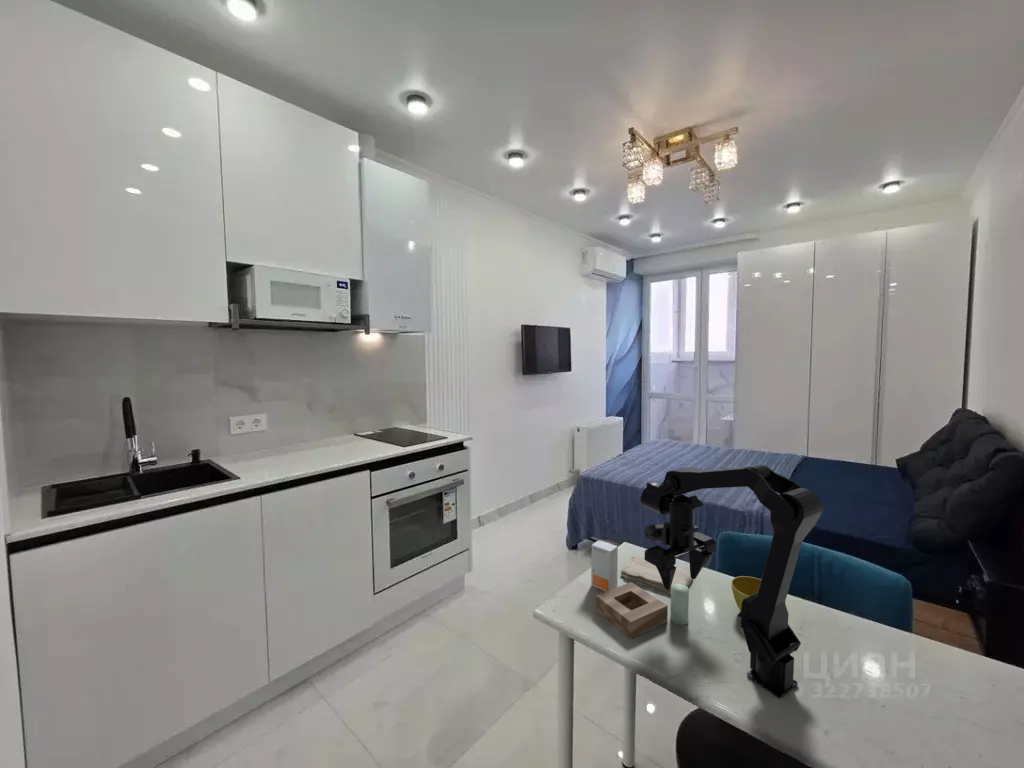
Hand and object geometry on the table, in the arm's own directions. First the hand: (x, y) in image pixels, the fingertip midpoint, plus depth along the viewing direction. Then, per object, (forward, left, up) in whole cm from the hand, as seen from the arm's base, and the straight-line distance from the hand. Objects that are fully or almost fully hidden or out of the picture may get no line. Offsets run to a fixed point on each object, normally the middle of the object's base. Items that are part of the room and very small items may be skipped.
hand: (680, 583), depth 102 cm
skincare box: (+20, +6, -9) cm, 23 cm away
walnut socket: (+7, +9, -9) cm, 15 cm away
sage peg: (0, 0, -9) cm, 9 cm away
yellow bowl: (-8, -17, -9) cm, 21 cm away
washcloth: (+16, -10, -10) cm, 21 cm away
